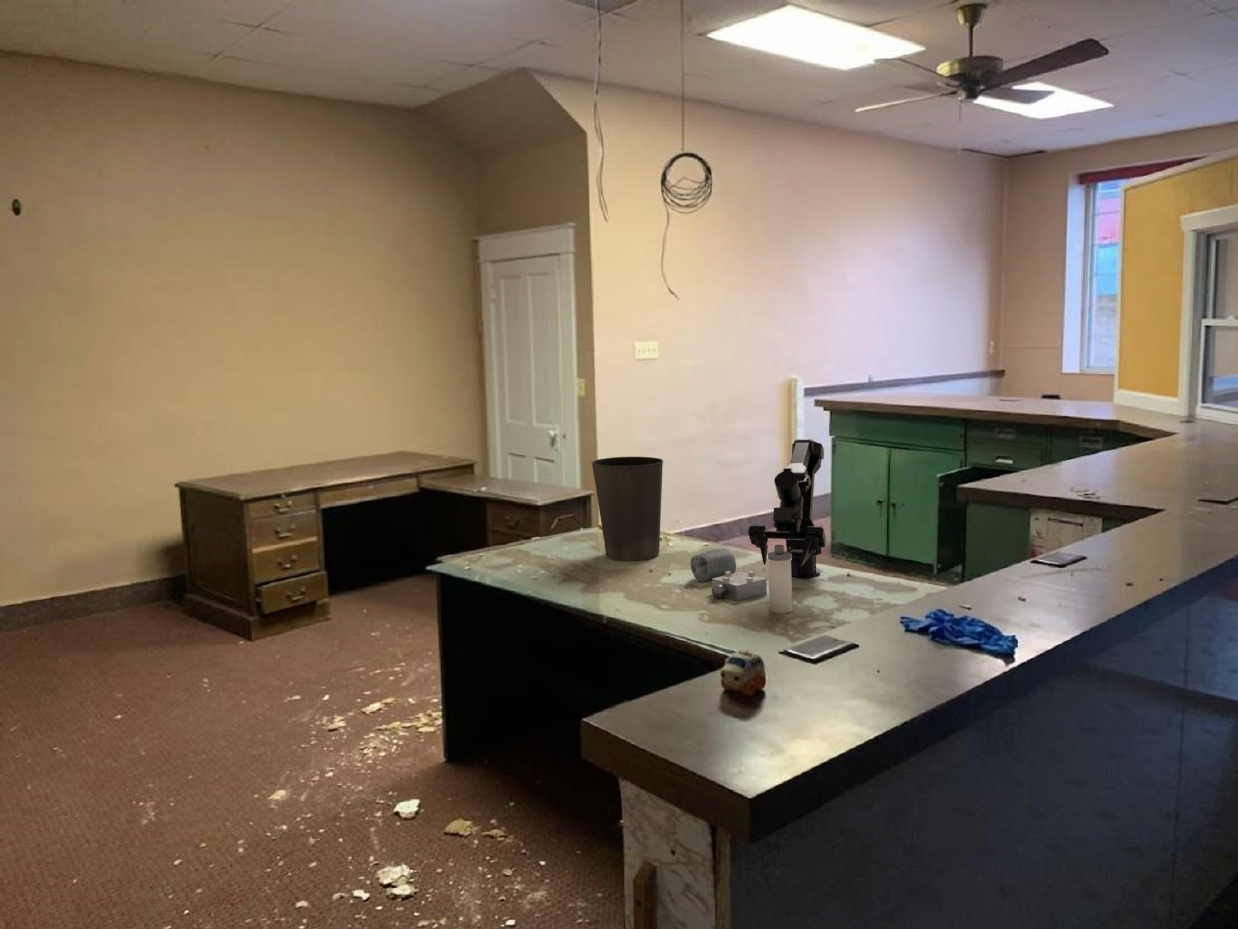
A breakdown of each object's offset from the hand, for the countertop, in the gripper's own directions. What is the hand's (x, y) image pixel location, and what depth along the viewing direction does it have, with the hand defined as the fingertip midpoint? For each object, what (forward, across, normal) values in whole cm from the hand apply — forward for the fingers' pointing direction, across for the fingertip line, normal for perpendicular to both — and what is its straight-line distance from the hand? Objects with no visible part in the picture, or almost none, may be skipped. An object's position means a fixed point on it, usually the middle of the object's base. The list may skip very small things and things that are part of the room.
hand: (782, 564), depth 227 cm
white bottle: (+10, 0, +5) cm, 11 cm away
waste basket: (-25, -57, +39) cm, 74 cm away
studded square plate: (+2, -14, +13) cm, 19 cm away
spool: (-9, -24, +24) cm, 35 cm away
